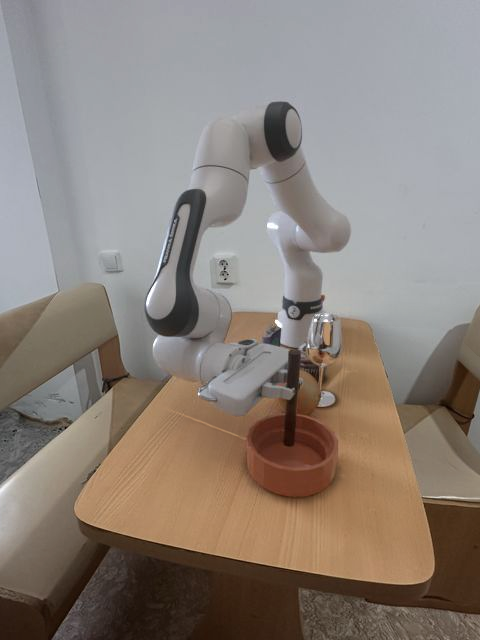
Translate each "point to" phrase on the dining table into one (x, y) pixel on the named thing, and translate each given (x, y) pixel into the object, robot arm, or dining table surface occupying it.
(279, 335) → the blue box
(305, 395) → the onion
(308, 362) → the cupcake
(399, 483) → the dining table surface
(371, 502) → the dining table surface
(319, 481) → the bowl
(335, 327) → the wineglass
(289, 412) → the stick
